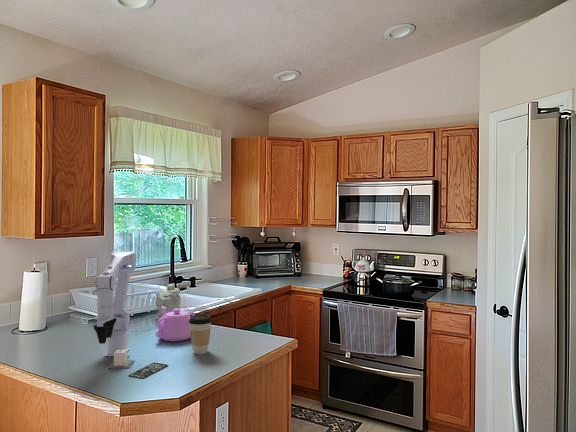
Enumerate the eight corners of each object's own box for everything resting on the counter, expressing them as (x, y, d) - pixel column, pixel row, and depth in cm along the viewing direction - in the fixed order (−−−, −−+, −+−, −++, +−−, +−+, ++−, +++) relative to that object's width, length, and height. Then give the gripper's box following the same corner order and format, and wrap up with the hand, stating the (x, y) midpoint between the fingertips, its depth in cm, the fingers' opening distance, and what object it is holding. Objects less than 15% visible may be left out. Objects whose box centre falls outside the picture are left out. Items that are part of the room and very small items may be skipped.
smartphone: (126, 375, 163) (153, 362, 176) (126, 377, 163) (153, 363, 176) (143, 378, 160) (169, 364, 174) (143, 380, 160) (169, 366, 174)
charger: (117, 362, 176) (117, 349, 176) (127, 361, 176) (127, 349, 176) (113, 365, 172) (113, 352, 172) (124, 365, 172) (124, 352, 172)
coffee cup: (203, 346, 197) (203, 313, 197) (216, 351, 190) (216, 317, 190) (184, 351, 191) (184, 316, 190) (196, 357, 184) (196, 321, 183)
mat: (114, 361, 178) (114, 360, 178) (134, 361, 178) (134, 360, 178) (107, 368, 170) (107, 367, 170) (129, 368, 170) (129, 367, 170)
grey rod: (127, 356, 184) (127, 354, 184) (129, 356, 184) (129, 354, 184) (123, 360, 179) (123, 359, 179) (125, 360, 179) (125, 359, 179)
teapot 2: (179, 328, 228) (179, 301, 227) (206, 336, 213) (206, 307, 213) (140, 337, 211) (140, 308, 211) (166, 347, 197) (167, 316, 196)
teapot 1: (157, 322, 238) (157, 287, 237) (148, 317, 250) (148, 283, 250) (186, 318, 247) (186, 284, 247) (176, 313, 260) (176, 281, 259)
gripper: (100, 301, 180) (100, 335, 180) (88, 310, 165) (88, 346, 166) (118, 301, 181) (118, 334, 181) (108, 309, 166) (108, 345, 166)
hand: (105, 340), depth 173 cm, fingers open, 7 cm apart
